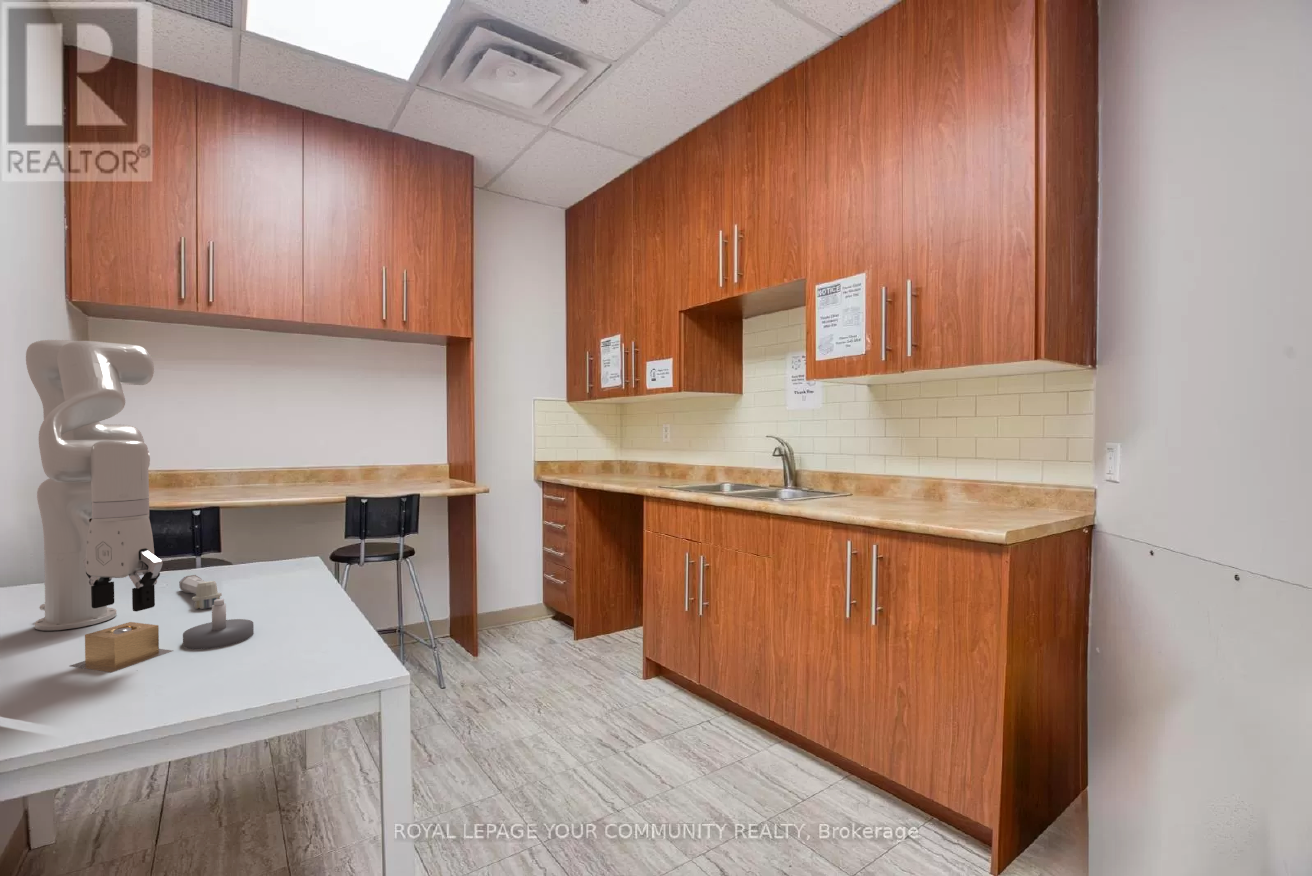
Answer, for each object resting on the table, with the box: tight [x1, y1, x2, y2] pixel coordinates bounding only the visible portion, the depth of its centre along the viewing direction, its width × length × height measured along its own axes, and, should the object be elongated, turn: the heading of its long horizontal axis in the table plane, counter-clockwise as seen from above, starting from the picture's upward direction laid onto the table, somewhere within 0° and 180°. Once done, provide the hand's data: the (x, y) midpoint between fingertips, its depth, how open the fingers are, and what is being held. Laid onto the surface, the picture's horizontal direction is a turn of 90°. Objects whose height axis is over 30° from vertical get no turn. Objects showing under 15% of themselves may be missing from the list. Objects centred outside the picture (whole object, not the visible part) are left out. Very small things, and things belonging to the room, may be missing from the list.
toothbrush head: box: [179, 574, 223, 610], centre depth 145 cm, size 5×7×25 cm
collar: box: [84, 621, 160, 668], centre depth 105 cm, size 7×7×5 cm
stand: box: [69, 628, 174, 673], centre depth 105 cm, size 10×10×6 cm
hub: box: [182, 598, 255, 650], centre depth 115 cm, size 11×11×8 cm
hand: (123, 607), depth 105 cm, fingers open, 9 cm apart
